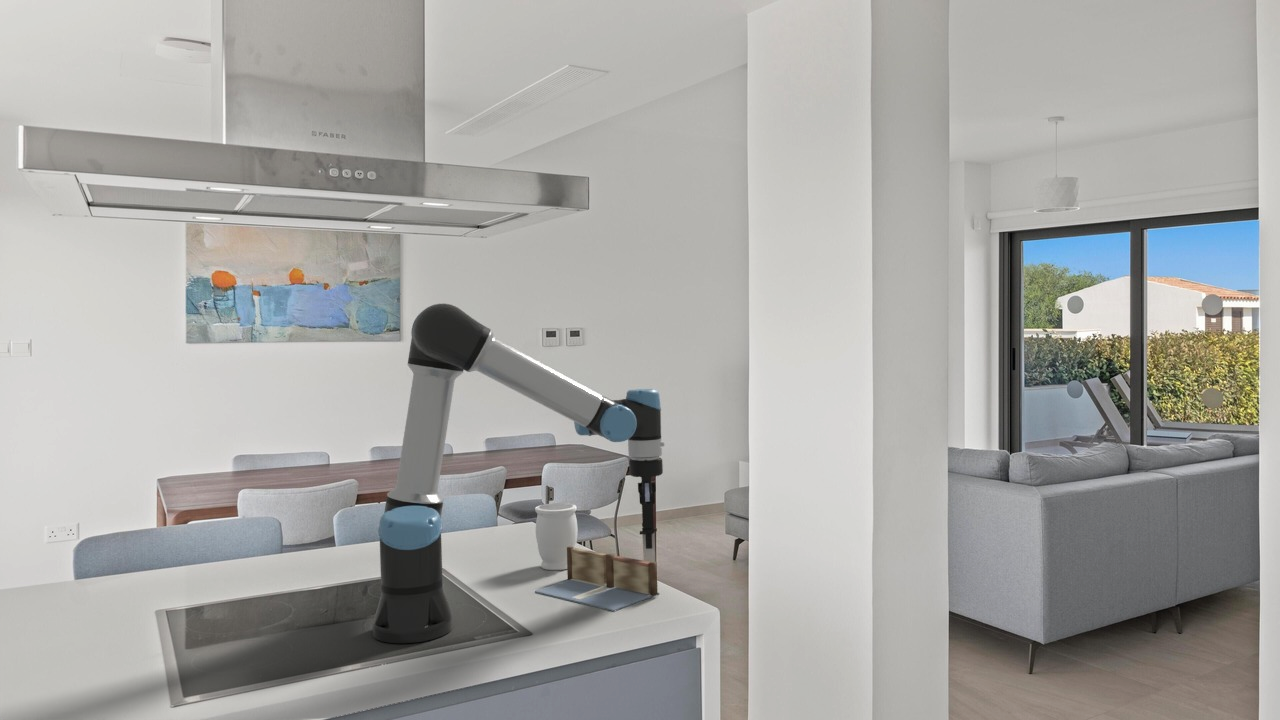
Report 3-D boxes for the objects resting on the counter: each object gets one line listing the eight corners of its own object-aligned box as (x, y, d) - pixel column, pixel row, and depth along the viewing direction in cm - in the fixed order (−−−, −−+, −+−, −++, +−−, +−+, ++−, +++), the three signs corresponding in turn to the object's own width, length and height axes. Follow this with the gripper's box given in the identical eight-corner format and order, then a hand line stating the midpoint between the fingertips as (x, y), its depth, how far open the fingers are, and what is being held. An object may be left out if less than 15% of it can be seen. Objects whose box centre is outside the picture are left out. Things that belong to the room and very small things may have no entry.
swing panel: (613, 587, 195) (612, 556, 195) (618, 585, 197) (617, 554, 196) (654, 595, 188) (653, 564, 188) (659, 594, 189) (658, 562, 189)
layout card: (535, 592, 195) (535, 590, 195) (581, 577, 206) (581, 575, 206) (614, 611, 180) (614, 609, 180) (659, 594, 191) (659, 592, 191)
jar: (572, 572, 211) (571, 510, 210) (531, 571, 212) (529, 510, 212) (582, 561, 221) (581, 502, 221) (543, 560, 223) (541, 502, 222)
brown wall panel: (565, 579, 205) (564, 547, 204) (571, 577, 206) (570, 546, 206) (611, 589, 196) (610, 556, 195) (617, 587, 197) (616, 554, 197)
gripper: (663, 461, 190) (667, 568, 191) (661, 453, 203) (665, 553, 204) (628, 462, 190) (632, 570, 190) (629, 454, 203) (632, 555, 203)
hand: (649, 561), depth 197 cm, fingers closed
